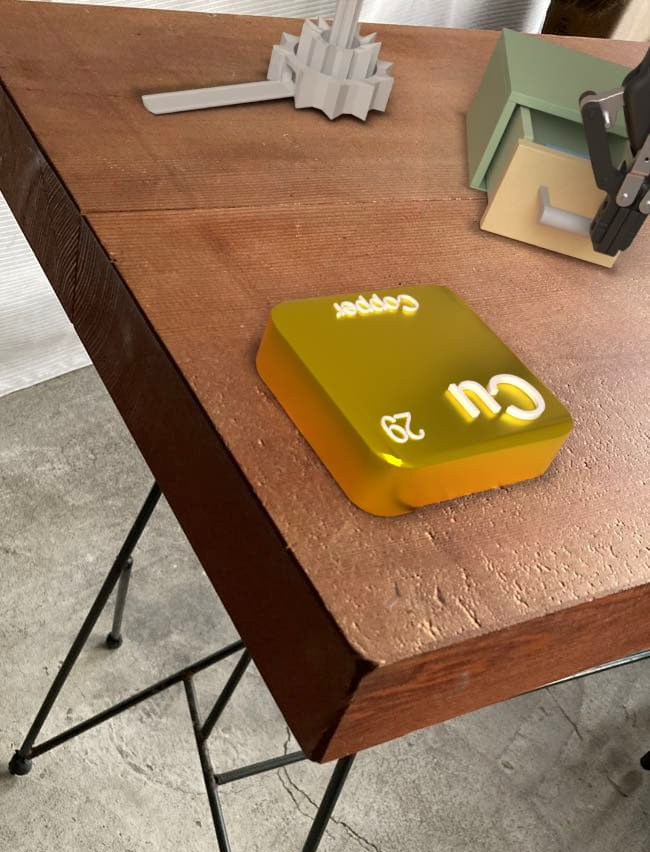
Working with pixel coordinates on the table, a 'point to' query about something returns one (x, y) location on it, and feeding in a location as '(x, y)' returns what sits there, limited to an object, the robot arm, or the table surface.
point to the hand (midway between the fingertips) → (602, 248)
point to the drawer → (546, 185)
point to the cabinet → (532, 91)
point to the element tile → (409, 396)
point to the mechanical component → (307, 72)
